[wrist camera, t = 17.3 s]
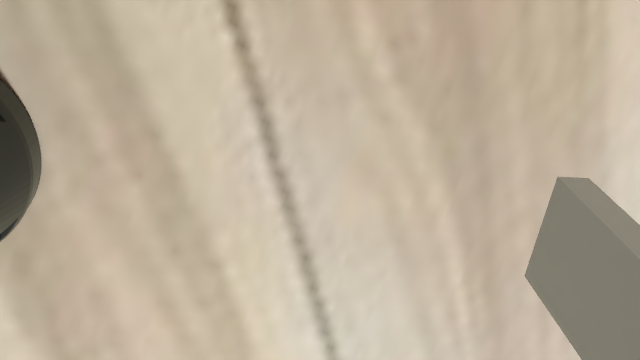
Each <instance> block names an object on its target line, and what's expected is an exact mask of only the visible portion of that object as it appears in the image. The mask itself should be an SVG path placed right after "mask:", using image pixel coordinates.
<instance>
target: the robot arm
mask: <svg viewBox="0 0 640 360" xmlns="http://www.w3.org/2000/svg"><path fill="white" fill-rule="evenodd" d="M40 175H41V151H40V145H39V141H38V137H37V134H36V131H35V129H34V126H33V124H32V121H31V119H30V117H29V115H28V114H27V112H26V110H25V109H24V107H23V105H22V104H21V102H20V101H19V100H18V98H17V97H16V96H15V94H14V93H13V92H12V91H11V90H10V89H9V87H8V86H7V85H6V84H5V83H4V82H3V81H2V80H1V79H0V242H1V241H2V240H3V239H4V238H5V237H6V236H7V235H8V234H9V233H10V232H11V231H12V230H13V229H14V228H15V227H16V226H17V224H18V223H19V222H20V220H21V219H22V217H23V215H24V214H25V212H26V210H27V209H28V207H29V205H30V203H31V202H32V200H33V198H34V196H35V193H36V191H37V188H38V185H39V181H40ZM525 277H526V279H527V280H528V282H529V283H530V285H531V286H532V287H533V289H534V290H535V292H536V293H537V295H538V296H539V298H540V299H541V301H542V302H543V304H544V305H545V306H546V308H547V309H548V311H549V312H550V314H551V315H552V317H553V318H554V320H555V321H556V323H557V324H558V325H559V327H560V328H561V330H562V331H563V333H564V334H565V336H566V337H567V339H568V340H569V342H570V343H571V344H572V346H573V347H574V349H575V350H576V352H577V353H578V355H579V356H580V358H581V359H582V360H640V225H639V224H638V223H637V222H636V221H635V220H633V219H632V218H631V217H630V216H629V215H628V214H627V213H626V212H625V211H624V210H623V209H622V208H620V207H619V206H618V205H617V204H616V203H615V202H614V201H613V200H612V199H611V198H610V197H609V196H607V195H606V194H605V193H604V192H603V191H602V190H601V189H600V188H599V187H598V186H597V185H595V184H594V183H593V182H592V181H591V180H590V179H589V178H573V177H557V180H556V183H555V186H554V189H553V192H552V195H551V198H550V201H549V204H548V207H547V210H546V213H545V216H544V219H543V222H542V225H541V228H540V231H539V234H538V237H537V240H536V243H535V246H534V249H533V252H532V255H531V258H530V261H529V264H528V267H527V270H526V273H525Z"/></svg>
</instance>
